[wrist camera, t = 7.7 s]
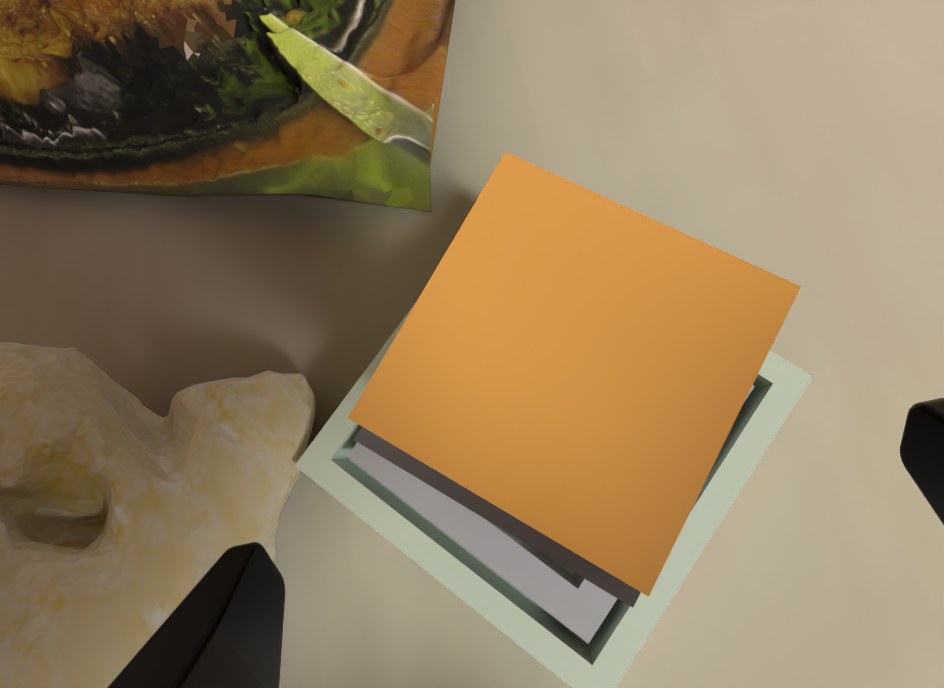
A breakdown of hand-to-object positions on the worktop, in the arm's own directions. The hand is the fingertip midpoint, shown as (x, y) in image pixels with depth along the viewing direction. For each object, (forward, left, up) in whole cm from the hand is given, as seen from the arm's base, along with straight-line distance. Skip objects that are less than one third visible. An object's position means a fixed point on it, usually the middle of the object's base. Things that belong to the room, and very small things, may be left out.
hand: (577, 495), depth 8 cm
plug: (+1, -1, -11) cm, 11 cm away
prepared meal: (+25, -6, -12) cm, 29 cm away
